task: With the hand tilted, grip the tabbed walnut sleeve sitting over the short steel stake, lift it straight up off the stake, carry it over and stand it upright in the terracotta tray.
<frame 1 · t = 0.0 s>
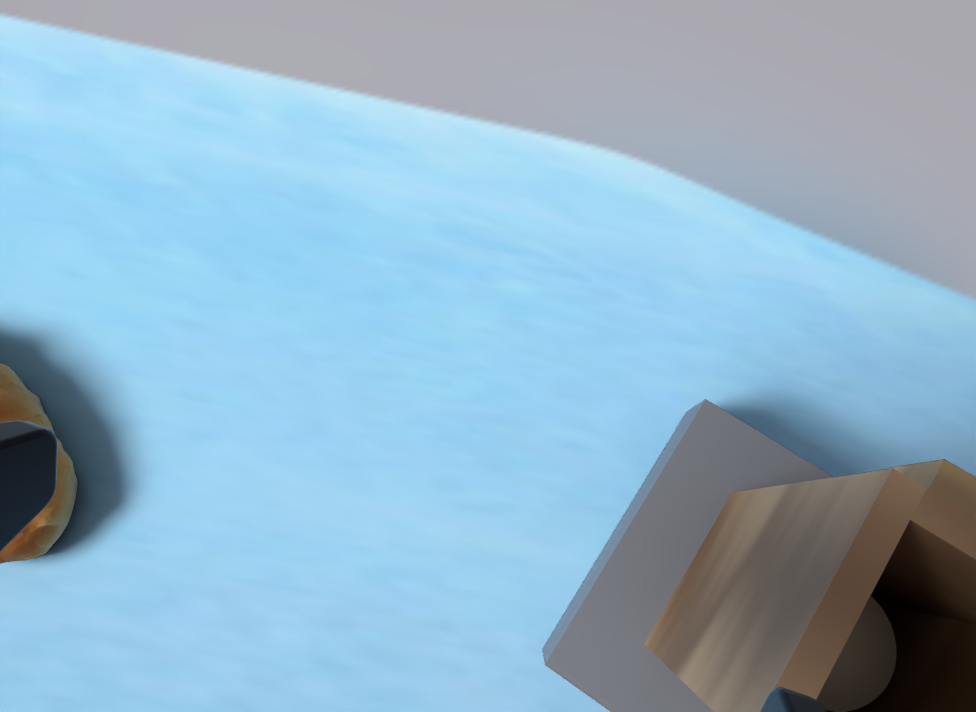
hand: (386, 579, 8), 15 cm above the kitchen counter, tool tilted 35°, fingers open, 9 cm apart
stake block: (740, 608, 22), on the kitchen counter
walnut sleeve: (767, 618, 19), point 2 cm above the kitchen counter, touching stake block
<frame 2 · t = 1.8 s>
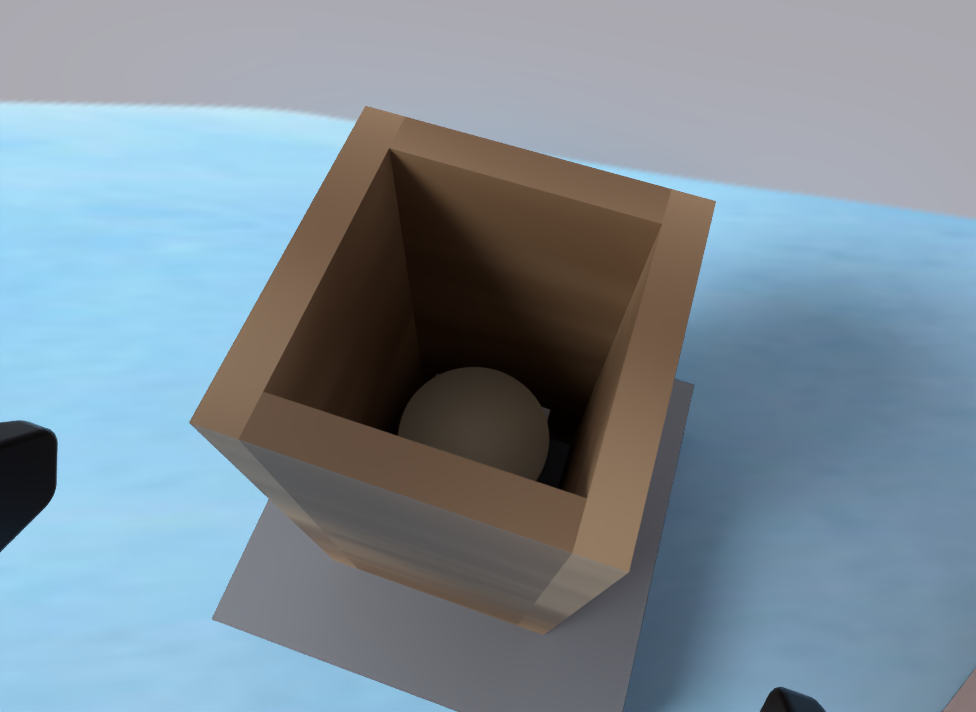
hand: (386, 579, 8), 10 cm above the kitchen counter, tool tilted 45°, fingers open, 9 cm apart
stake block: (472, 516, 19), on the kitchen counter
walnut sleeve: (472, 492, 17), point 2 cm above the kitchen counter, touching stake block
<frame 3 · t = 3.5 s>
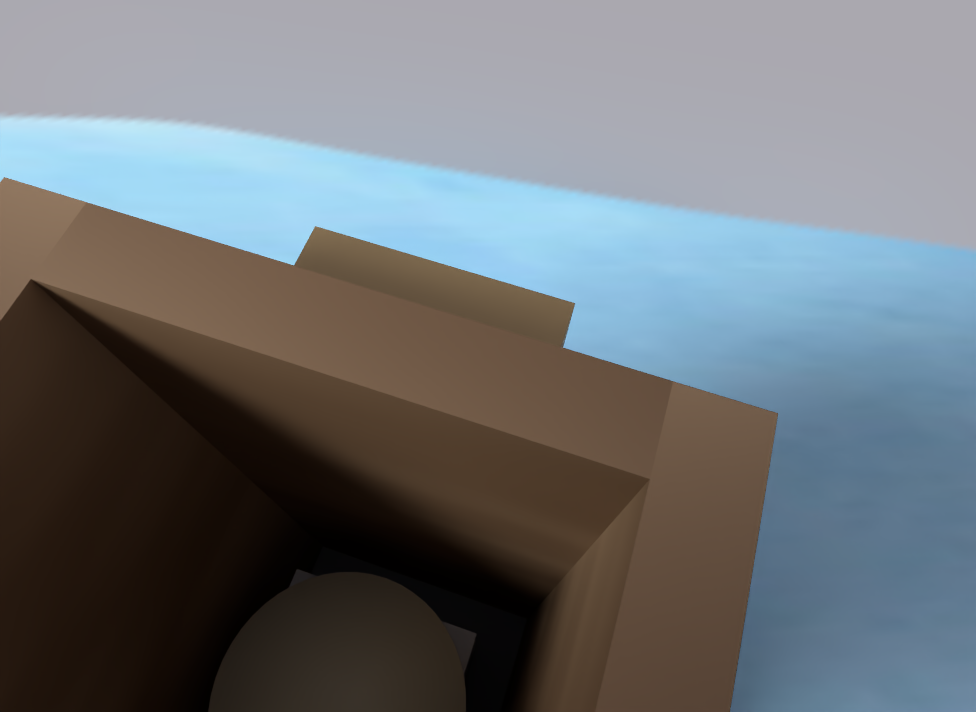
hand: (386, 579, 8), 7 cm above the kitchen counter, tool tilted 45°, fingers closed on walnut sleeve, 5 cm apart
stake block: (396, 694, 14), on the kitchen counter
walnut sleeve: (381, 697, 11), point 2 cm above the kitchen counter, touching gripper, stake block
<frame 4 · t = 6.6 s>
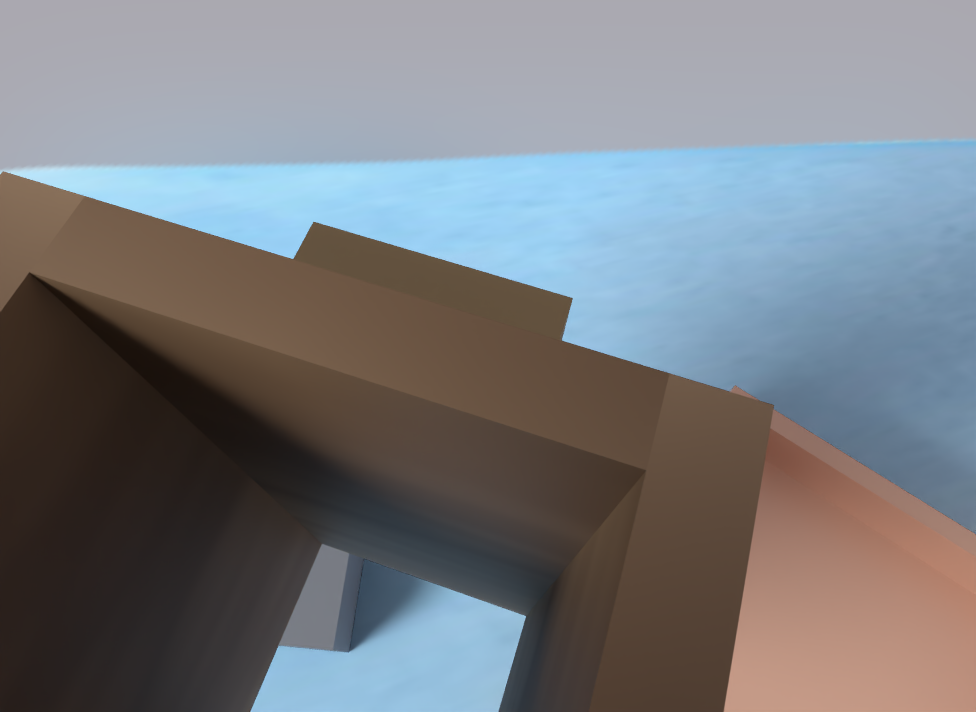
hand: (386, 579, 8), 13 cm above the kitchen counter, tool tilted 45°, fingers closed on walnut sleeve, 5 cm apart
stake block: (233, 486, 22), on the kitchen counter
walnut sleeve: (381, 694, 11), point 9 cm above the kitchen counter, touching gripper
terracotta tray: (794, 695, 20), on the kitchen counter
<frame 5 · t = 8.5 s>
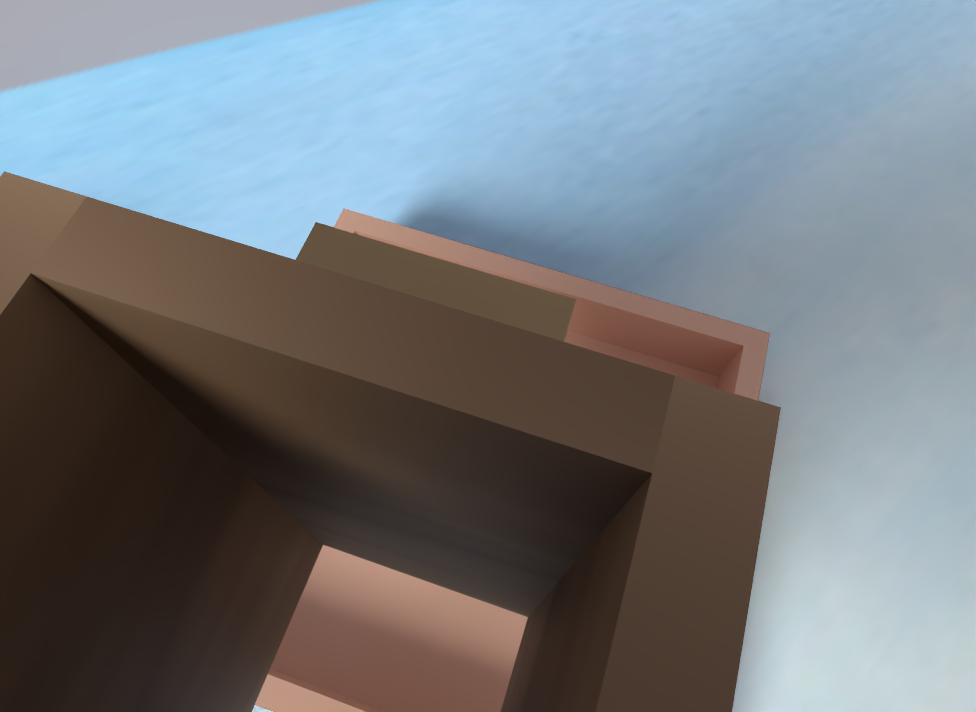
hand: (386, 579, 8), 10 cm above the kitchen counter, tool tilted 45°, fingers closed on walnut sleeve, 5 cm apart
walnut sleeve: (382, 695, 11), point 6 cm above the kitchen counter, touching gripper
terracotta tray: (476, 500, 19), on the kitchen counter
when the fingers open (6 cm above the kitchen counter, at t = 10.0 s): walnut sleeve drops 2 cm, resting on terracotta tray.
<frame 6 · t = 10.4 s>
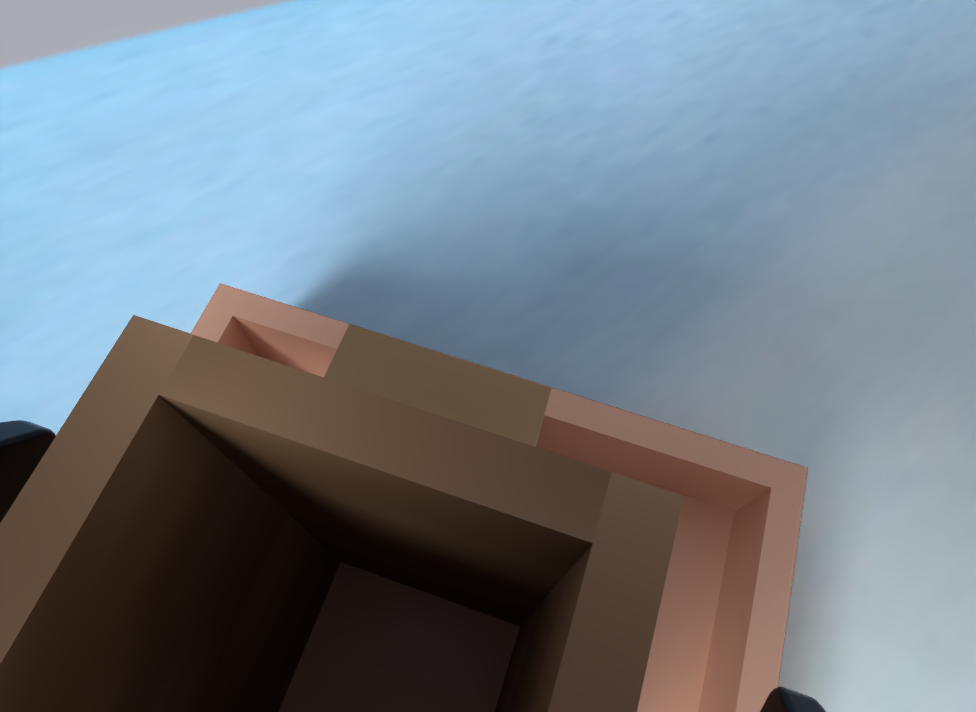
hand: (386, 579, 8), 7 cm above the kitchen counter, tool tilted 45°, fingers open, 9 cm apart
walnut sleeve: (392, 694, 13), point 1 cm above the kitchen counter, touching terracotta tray
terracotta tray: (397, 694, 14), on the kitchen counter
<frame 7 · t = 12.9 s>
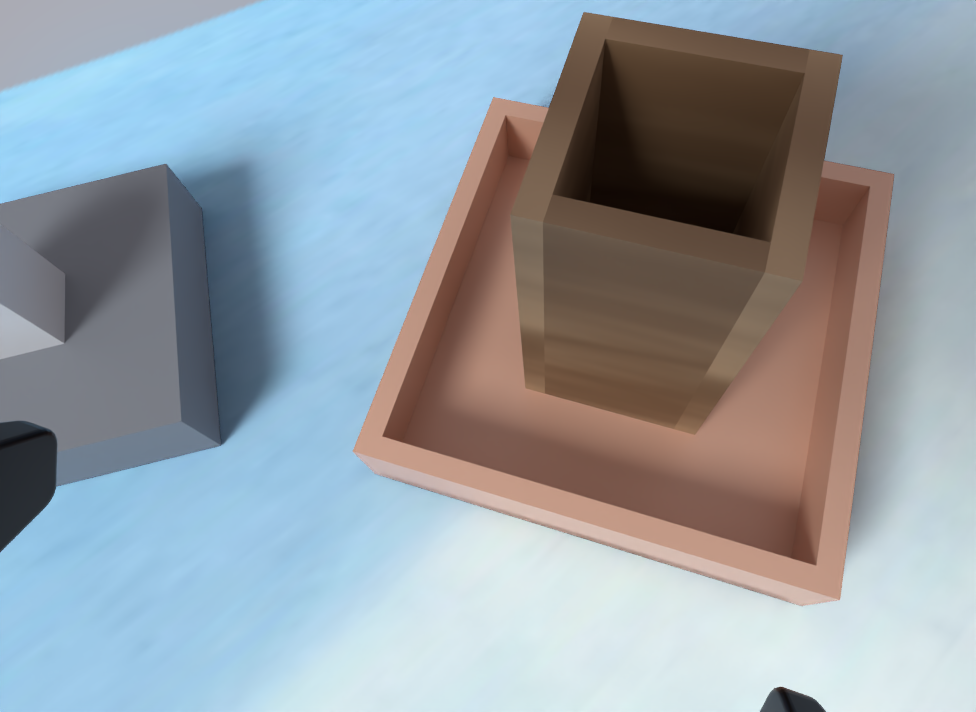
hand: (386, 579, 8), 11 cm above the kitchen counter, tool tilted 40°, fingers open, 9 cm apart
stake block: (77, 350, 23), on the kitchen counter
walnut sleeve: (628, 335, 21), point 1 cm above the kitchen counter, touching terracotta tray
terracotta tray: (627, 343, 21), on the kitchen counter
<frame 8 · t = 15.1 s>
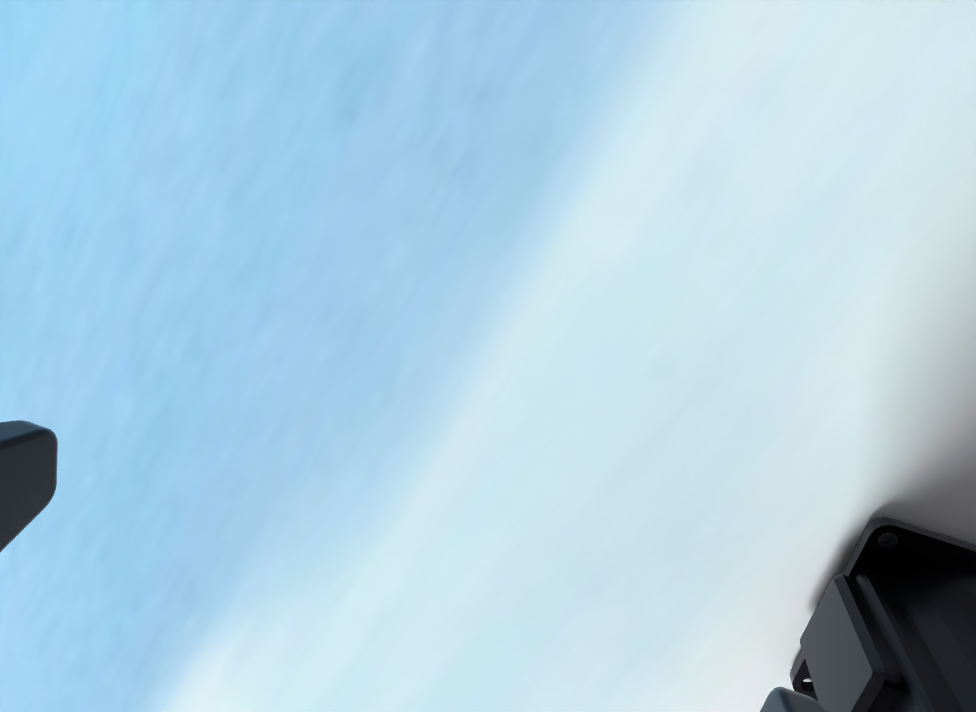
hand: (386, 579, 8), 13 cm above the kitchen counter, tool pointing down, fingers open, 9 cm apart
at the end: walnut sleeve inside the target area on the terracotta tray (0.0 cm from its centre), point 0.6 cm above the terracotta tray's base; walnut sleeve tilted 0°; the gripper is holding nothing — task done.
